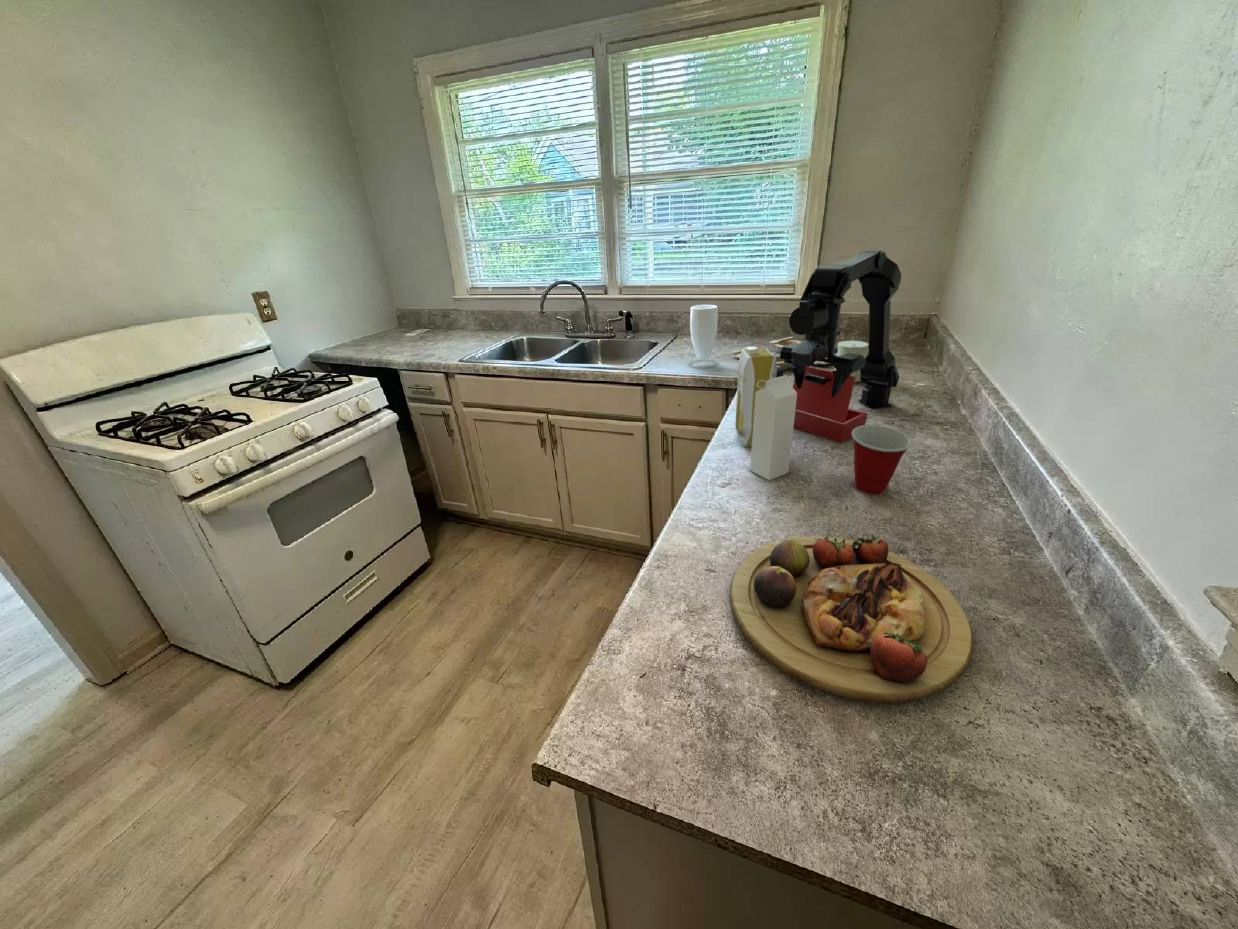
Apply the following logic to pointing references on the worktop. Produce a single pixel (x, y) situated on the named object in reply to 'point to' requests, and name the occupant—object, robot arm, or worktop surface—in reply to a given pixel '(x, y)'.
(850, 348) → the can
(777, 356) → the tableware set
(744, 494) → the worktop surface
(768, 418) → the milk
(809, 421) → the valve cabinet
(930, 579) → the wooden plate
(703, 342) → the cup
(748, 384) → the juice carton
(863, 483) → the plastic cup
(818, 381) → the red box lid
